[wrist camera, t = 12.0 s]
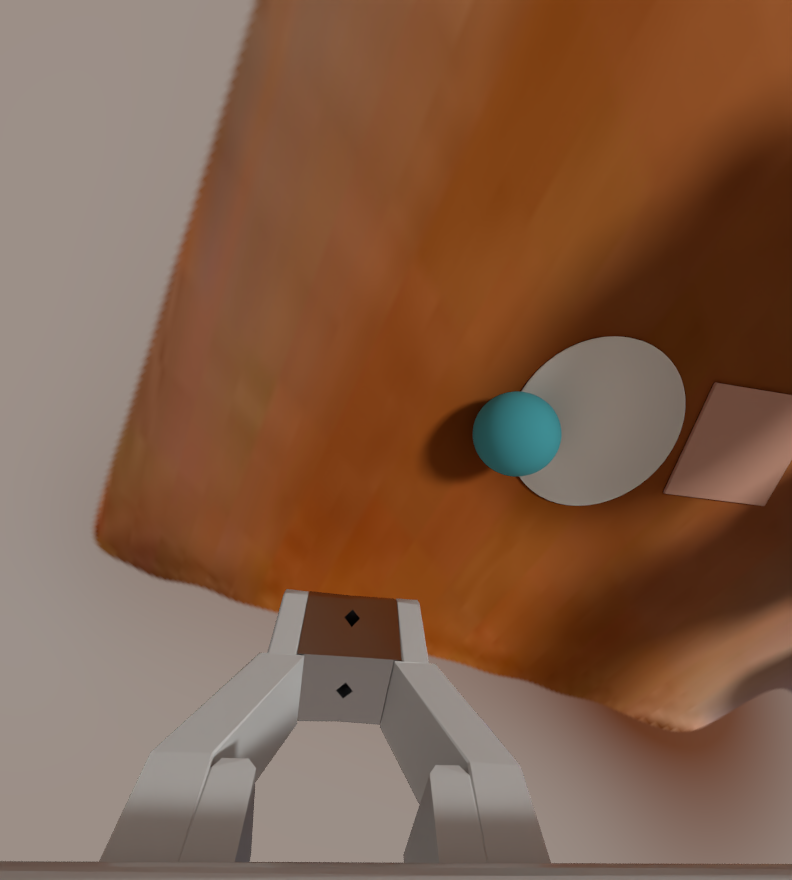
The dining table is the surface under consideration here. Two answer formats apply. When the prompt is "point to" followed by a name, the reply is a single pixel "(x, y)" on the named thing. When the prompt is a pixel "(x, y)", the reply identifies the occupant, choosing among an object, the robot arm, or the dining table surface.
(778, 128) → the dining table surface
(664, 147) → the dining table surface
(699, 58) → the dining table surface
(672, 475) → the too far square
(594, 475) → the disc
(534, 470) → the ball
